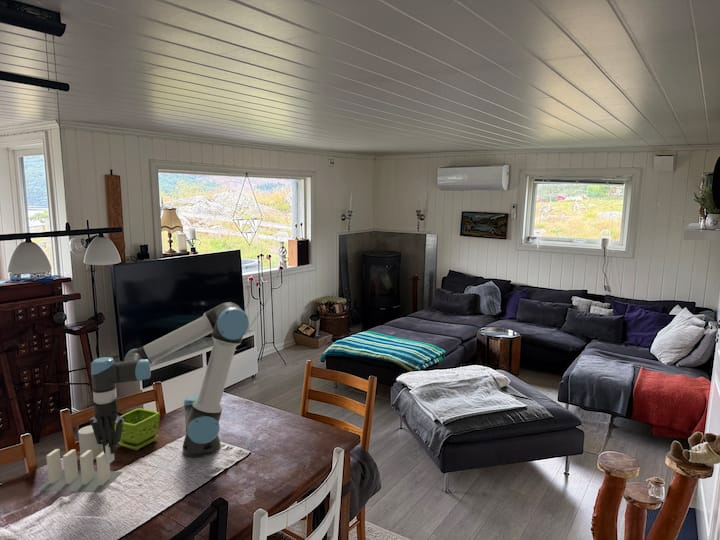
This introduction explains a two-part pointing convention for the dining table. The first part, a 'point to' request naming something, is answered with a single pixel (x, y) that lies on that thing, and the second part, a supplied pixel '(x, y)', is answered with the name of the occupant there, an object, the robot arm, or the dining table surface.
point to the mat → (79, 484)
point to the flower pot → (139, 428)
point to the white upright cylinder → (89, 441)
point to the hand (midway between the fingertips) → (110, 461)
